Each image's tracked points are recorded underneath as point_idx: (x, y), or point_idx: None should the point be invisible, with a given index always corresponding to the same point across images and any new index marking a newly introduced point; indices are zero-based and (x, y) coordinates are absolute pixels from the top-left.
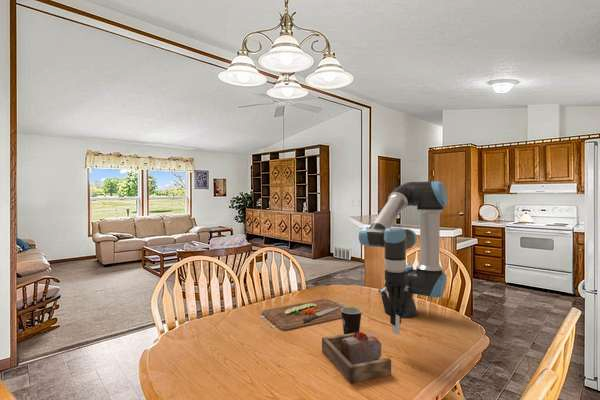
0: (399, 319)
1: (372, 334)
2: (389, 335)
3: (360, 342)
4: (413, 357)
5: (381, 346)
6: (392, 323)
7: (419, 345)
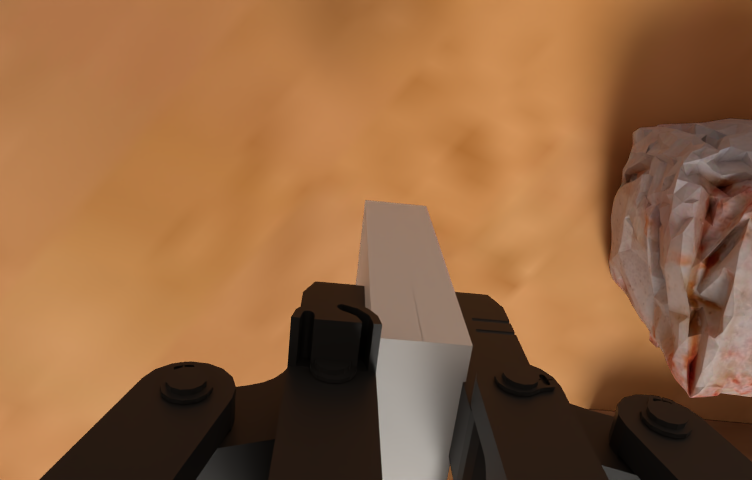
0: (372, 303)
1: (730, 335)
2: None
3: None
4: (270, 21)
5: (676, 156)
6: (504, 312)
7: (36, 197)
